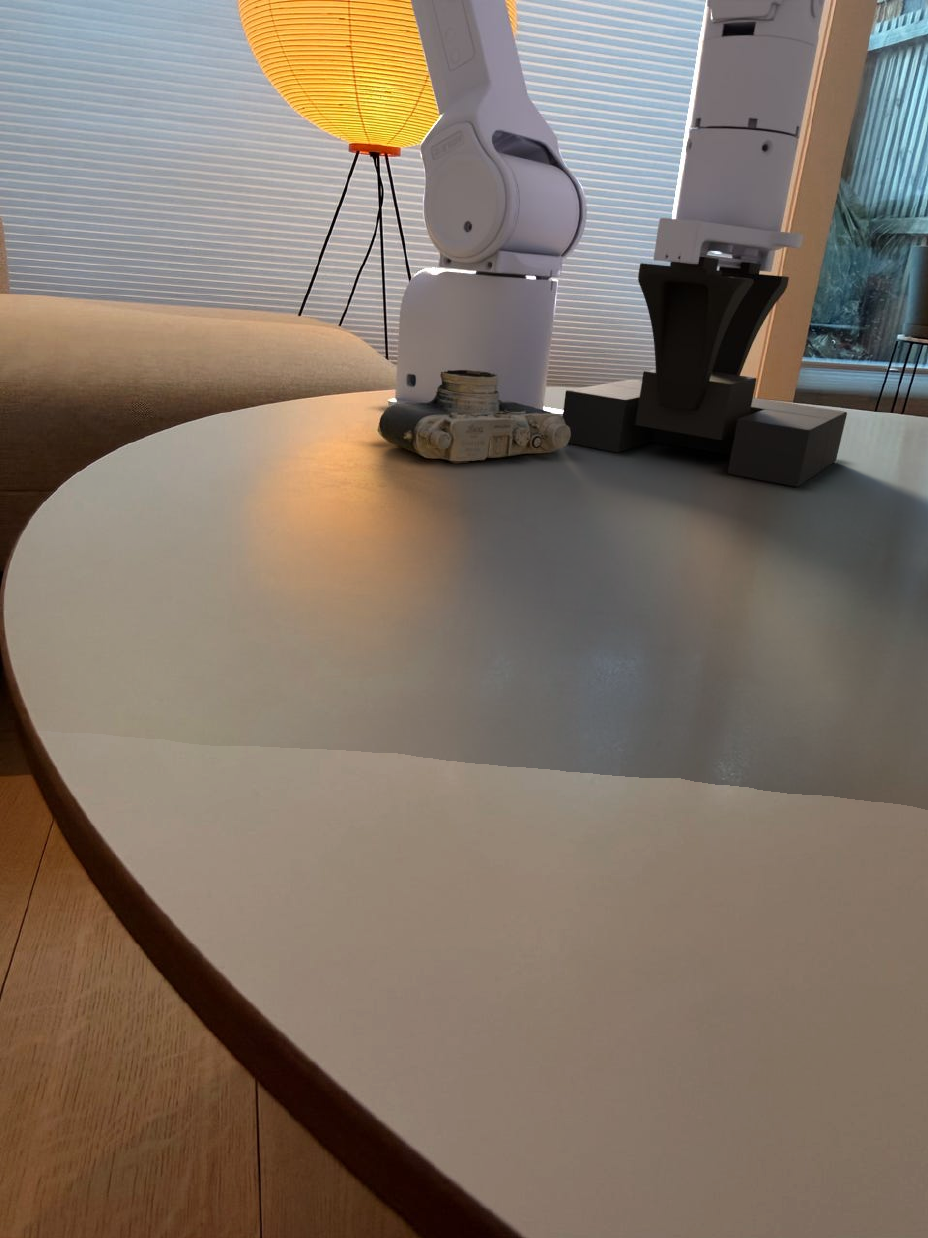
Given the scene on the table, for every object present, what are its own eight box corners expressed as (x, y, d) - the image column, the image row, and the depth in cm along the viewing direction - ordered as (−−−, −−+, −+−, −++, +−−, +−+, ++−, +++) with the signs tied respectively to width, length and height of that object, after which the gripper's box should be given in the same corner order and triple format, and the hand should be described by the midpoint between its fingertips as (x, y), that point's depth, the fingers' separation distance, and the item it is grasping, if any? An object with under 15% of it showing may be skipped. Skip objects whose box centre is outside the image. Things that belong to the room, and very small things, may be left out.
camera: (579, 456, 52) (589, 378, 50) (419, 466, 46) (425, 380, 45) (524, 437, 56) (532, 364, 54) (370, 444, 50) (374, 364, 48)
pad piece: (634, 425, 53) (643, 370, 52) (665, 416, 57) (674, 365, 56) (720, 440, 50) (731, 384, 49) (746, 430, 54) (757, 377, 53)
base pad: (559, 441, 55) (565, 390, 54) (624, 423, 64) (630, 378, 62) (797, 487, 49) (810, 430, 48) (836, 461, 57) (847, 411, 56)
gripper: (784, 114, 40) (725, 428, 45) (848, 156, 52) (796, 402, 57) (632, 112, 44) (593, 405, 49) (725, 152, 55) (685, 385, 60)
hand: (694, 403), depth 53 cm, fingers closed on pad piece, 5 cm apart
